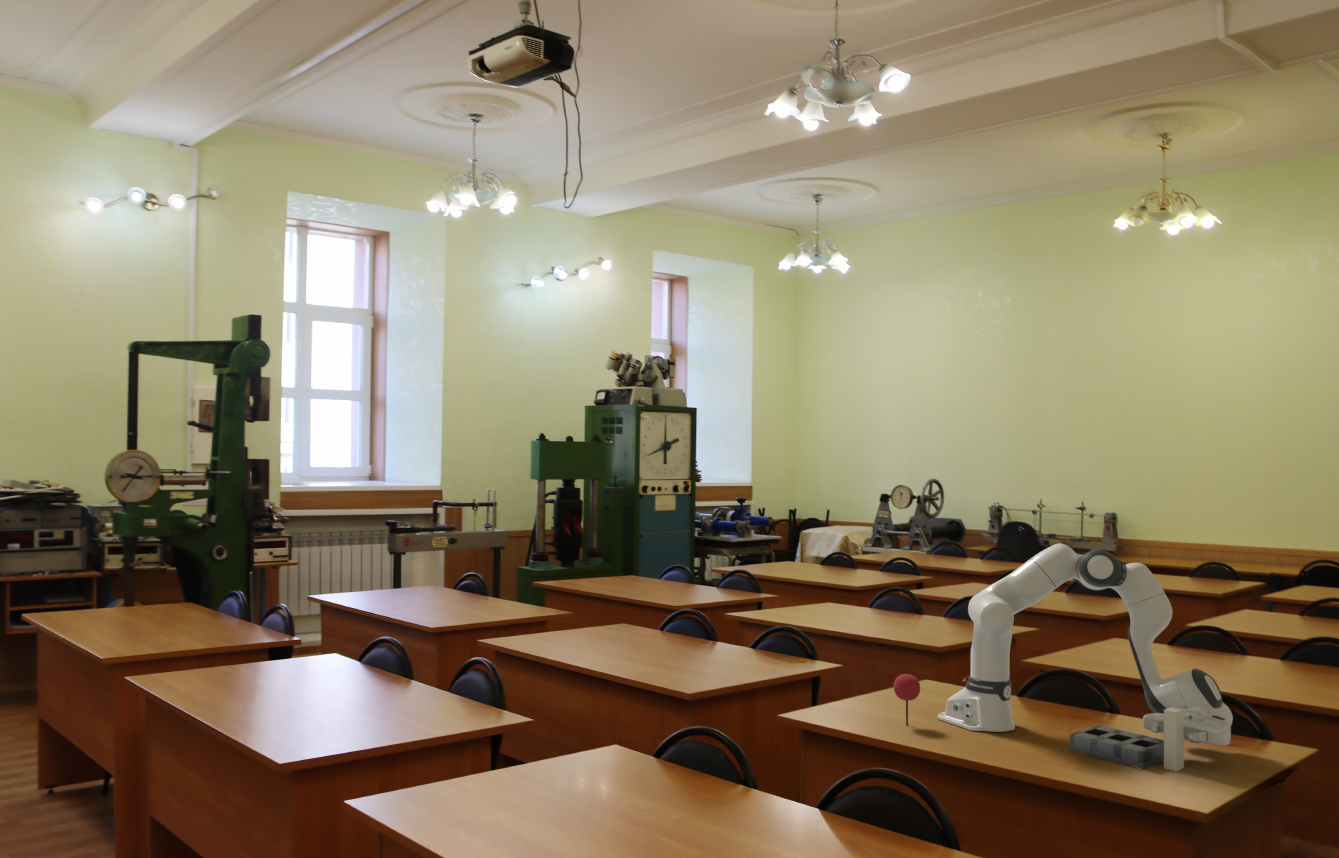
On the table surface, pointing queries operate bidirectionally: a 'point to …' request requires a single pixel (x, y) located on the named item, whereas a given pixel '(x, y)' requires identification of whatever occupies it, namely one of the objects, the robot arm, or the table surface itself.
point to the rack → (1118, 746)
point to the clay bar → (1174, 738)
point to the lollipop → (907, 689)
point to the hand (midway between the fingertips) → (1172, 733)
